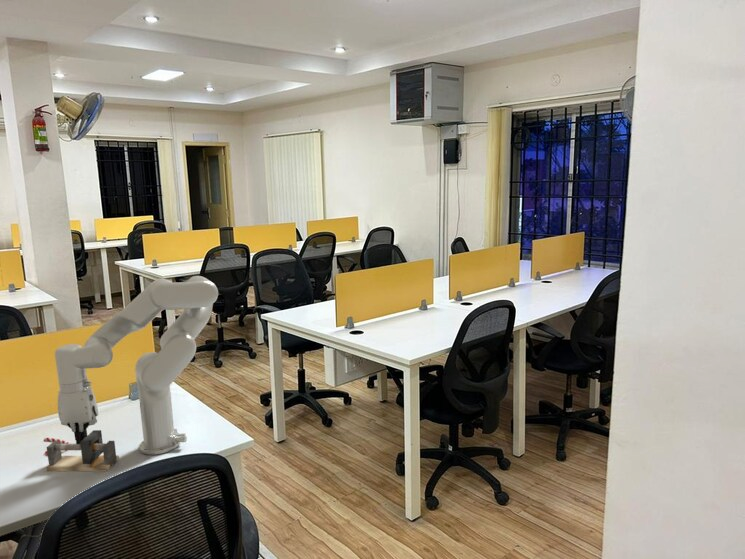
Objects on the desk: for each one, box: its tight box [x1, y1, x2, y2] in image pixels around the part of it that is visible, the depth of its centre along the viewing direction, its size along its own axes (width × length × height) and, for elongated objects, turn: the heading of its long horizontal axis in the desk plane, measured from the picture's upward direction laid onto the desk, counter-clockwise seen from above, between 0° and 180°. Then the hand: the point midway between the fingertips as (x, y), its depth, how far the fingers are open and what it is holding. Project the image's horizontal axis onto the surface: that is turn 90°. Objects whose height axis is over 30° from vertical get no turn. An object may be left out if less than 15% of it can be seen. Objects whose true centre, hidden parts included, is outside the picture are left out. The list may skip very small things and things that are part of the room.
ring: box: [80, 429, 104, 464], centre depth 167 cm, size 2×8×7 cm, turn 178°
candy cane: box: [43, 437, 70, 457], centre depth 181 cm, size 8×1×15 cm
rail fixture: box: [45, 440, 120, 472], centre depth 168 cm, size 19×7×7 cm, turn 88°
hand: (81, 442), depth 167 cm, fingers closed
